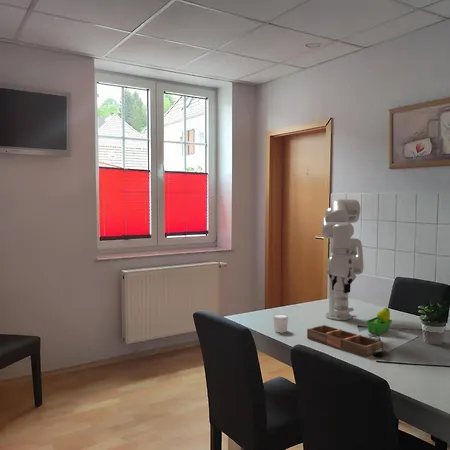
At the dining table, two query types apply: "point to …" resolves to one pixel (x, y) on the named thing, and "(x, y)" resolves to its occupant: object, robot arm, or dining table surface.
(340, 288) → the plastic bottle
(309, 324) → the dining table surface
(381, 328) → the fruit basket
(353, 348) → the wooden compartment tray
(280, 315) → the white cup
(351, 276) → the robot arm
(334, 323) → the dining table surface
